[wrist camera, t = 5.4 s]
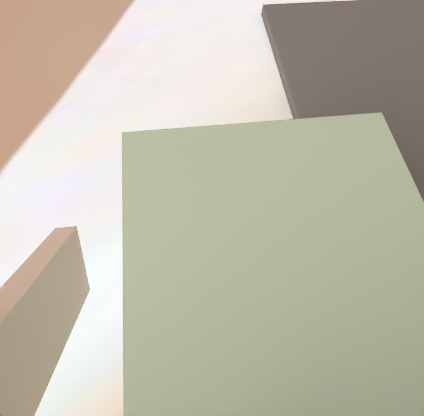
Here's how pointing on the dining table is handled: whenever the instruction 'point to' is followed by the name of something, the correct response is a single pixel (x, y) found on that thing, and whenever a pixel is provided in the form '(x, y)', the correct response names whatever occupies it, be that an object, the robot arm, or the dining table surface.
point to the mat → (355, 64)
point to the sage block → (272, 271)
